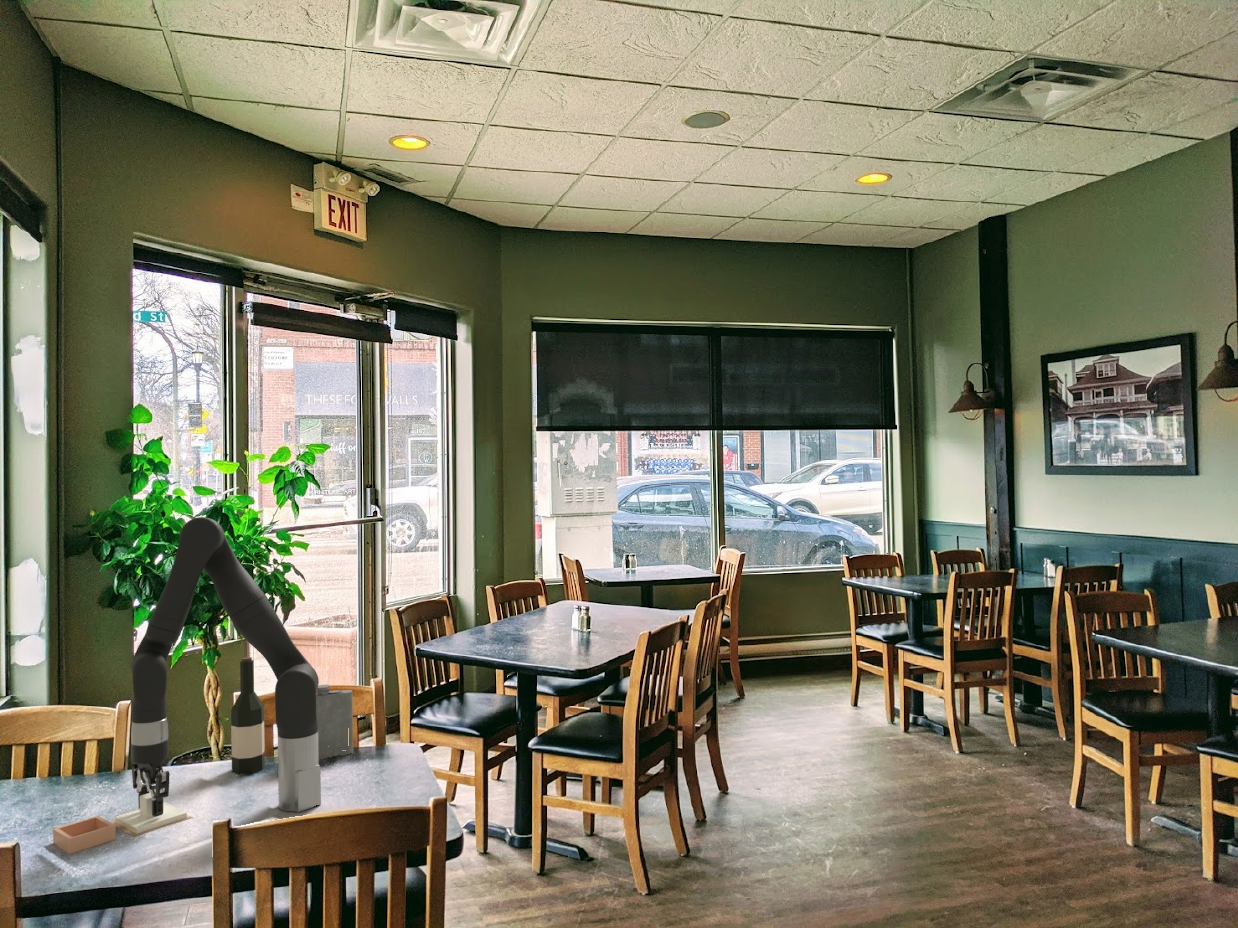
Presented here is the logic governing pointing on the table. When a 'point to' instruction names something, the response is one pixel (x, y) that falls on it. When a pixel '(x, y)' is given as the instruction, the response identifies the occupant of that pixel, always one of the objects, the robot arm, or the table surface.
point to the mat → (148, 830)
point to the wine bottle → (247, 725)
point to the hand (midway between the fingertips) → (150, 811)
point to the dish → (84, 834)
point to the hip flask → (334, 721)
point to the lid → (149, 816)
